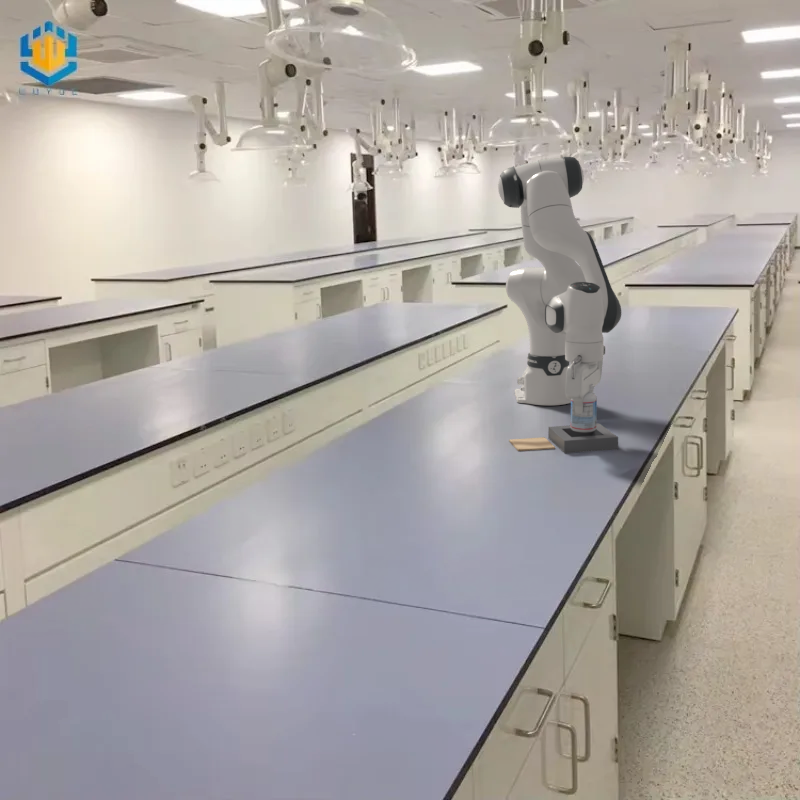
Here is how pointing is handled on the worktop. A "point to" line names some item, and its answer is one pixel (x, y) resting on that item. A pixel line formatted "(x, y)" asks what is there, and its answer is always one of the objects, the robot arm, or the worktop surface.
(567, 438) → the grey square bottle holder
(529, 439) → the cork pad
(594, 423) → the pill bottle
